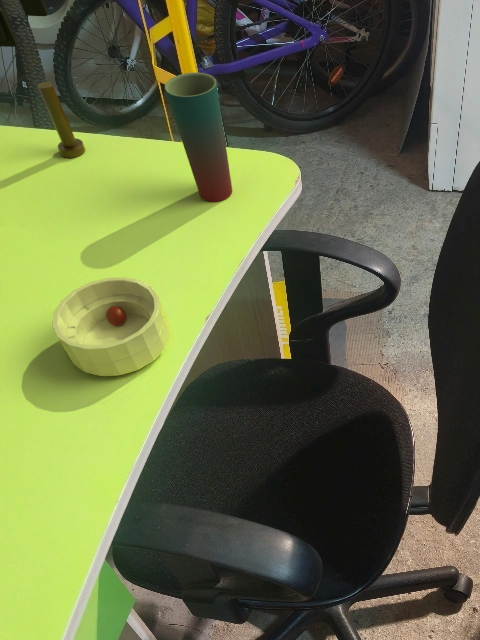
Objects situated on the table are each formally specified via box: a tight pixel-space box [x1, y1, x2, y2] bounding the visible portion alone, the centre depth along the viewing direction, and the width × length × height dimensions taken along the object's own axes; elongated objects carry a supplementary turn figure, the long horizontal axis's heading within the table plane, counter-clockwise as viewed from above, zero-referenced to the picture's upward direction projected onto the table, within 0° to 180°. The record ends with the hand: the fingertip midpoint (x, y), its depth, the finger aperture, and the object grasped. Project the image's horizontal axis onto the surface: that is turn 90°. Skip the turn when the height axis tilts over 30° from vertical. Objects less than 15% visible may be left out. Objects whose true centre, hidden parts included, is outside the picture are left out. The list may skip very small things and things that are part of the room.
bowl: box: [51, 276, 171, 377], centre depth 70 cm, size 12×12×5 cm
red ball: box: [106, 306, 127, 326], centre depth 72 cm, size 2×2×2 cm
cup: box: [164, 71, 233, 203], centre depth 83 cm, size 7×7×15 cm
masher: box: [37, 81, 86, 159], centre depth 93 cm, size 4×4×10 cm
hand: (22, 29), depth 82 cm, fingers open, 9 cm apart
